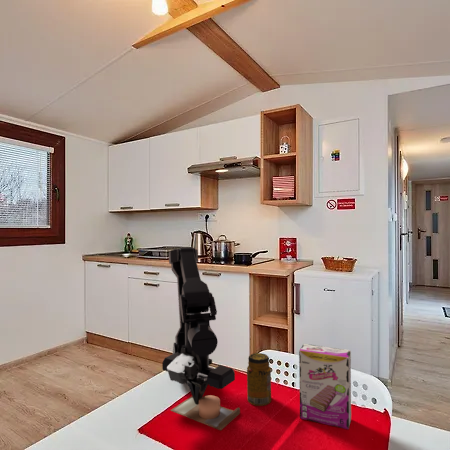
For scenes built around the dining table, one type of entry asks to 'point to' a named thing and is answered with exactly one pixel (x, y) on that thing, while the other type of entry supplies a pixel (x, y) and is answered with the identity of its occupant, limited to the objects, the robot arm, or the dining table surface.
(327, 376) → the candy bar box
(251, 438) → the dining table surface
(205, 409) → the tan round cylinder
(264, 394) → the condiment
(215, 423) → the board
